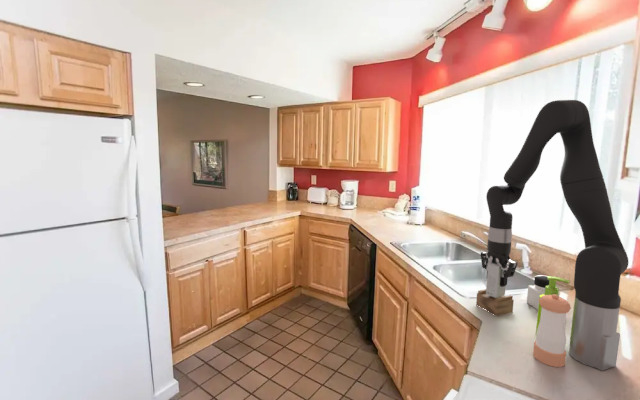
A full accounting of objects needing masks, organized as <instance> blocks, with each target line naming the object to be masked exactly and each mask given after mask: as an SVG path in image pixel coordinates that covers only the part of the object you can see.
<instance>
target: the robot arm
mask: <svg viewBox="0 0 640 400" xmlns="http://www.w3.org/2000/svg"><path fill="white" fill-rule="evenodd" d="M590 116H591V115H590V113H589V109H588V107H587V105H586V104H585V103H584V102H583V101H580V100H577V99H558V100H552V101H550V102H548V103H546V104H544V106H543V107H541V108H540V110H539V111H538V113H537V116H536V117H535V119H534V122H533V123H532V126H531V128H530V130H529V132H528V134H527V137H526V139H525V141H524V143H523V145H522V147H521V149H520V151H519V152H518V154H517V156H516V157H515V159H514V160H513V161H512V163H511V164H510V166H509V167H508V169H507V171H505V173H504V176H503V180H504V182H505V183H506V185H493V186H490V188H488V190H487V192H486V203H487V207H488V211H489V216H490V217H489V229H488V233H487V246H486V249H487V252H486V251H485V252H480V260H481V266H482V267H481V268H482V269H485V270H486V274H487V273H488V264H489V263H494V264H497V265H498V266H500V274H501V277H500V286H501V287H504V286H505V287H506V286H507V285H508V278H511V277H514V275H515V272H516V269H517V266H518V264H519V263H518V262H517V261H513V260H511V258H510V254H511V251H512V241H513V240H512V238H513V231H512V229H513V227H512V226H513V214H512V213H511V212H510V211H505V209H504V206H508V205H513V204H515V203H517V202H518V201H519V200H520V199H521V197H522V194H523V192H524V190H525V186H526V184H527V183H528V181H529V180H530V179H531V178H532V176H533V175H534V174H535V172H536V171H537V169H538V167H539V165H540V162H541V156H542V155H543V154H542V153H543V151H544V149H545V147H546V145H547V144H548V143H549V142H550V141H551V140H552V138H553V137H555V136H556V135H557V134H559V135H560V137H561V139H562V140H561V141H562V143H563V148H564V157H563V162H562V166H561V169H560V175H559V177H560V178H559V181H560V185H561V190H562V193H563V197H564V200H565V202H566V204H567V206H568V208H569V209H570V211H571V213H572V215H573V216H574V218H575V220H577V222H578V223H579V224H578V225H579V226H580V229H581V233H582V236H583V241H584V248H583V249H582V250H580V252H578V253H577V256H576V259H575V265H574V276H573V289H574V290H575V293H574V295H575V296H574V303H573V312H572V318H571V319H572V320H571V328H570V338H569V344H568V353H569V355H570V356H571V357H572V358H573V359H574V360H576V361H577V362H580V363H581V364H583V365H586V366H588V367H592V368H595V369H598V370H599V371H602V372H604V371H606V370H609V369H611V368H613V367H616V366H617V360H618V355H619V354H618V352H619V345H620V339H621V334H620V333H619V332H618V331H617V328H618V322H619V314H620V308H621V300H622V298H621V296H620V294H619V293H620V292H619V291H620V283H621V282H620V281H621V275H622V274H623V273H624V272H626V270H627V268H628V266H629V257H628V254H627V252H626V249H625V247H624V245H623V243H622V241H621V238H620V236H619V234H618V231H617V229H616V225H615V221H614V217H613V212H612V207H611V203H610V199H609V194H608V191H607V186H606V183H605V179H604V176H603V173H602V170H601V167H600V164H599V163H600V162H599V159H598V155H597V150H596V148H595V144H594V138H593V132H592V124H591V117H590ZM502 267H504V268H502Z"/></svg>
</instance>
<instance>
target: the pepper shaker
mask: <svg viewBox="0 0 640 400" xmlns="http://www.w3.org/2000/svg"><path fill="white" fill-rule="evenodd" d="M539 303H540V306H541V307H542V309H541V318H540V323H539V326H538V329H537V333H536V332H535V335H536V337H535V341H534V342H533V350H532V351H533V352H532V354H533V356H534V358H535V359H536V360H537V361H539V362H540V363H542V364H544V365H547V366H550V367H553V368H561V367H564V366H565V364H566V358H567V351H566V344H567V335H566V333H567V332H566V320H567V318H566V317H567V314H568V313H569V312H570V310H571V309H572V307H571V304H570V303H569V301H568V300H567V299H565V298H562V297H561V296H560V295H559V296H558V295H556V294H553V295H544V296H542V297H541V298H540V299H539Z"/></svg>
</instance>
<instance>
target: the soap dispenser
mask: <svg viewBox="0 0 640 400" xmlns="http://www.w3.org/2000/svg"><path fill="white" fill-rule="evenodd" d="M547 276H548V278H547V279H548V280H549V285H548V286H545V294H542V295H540V296H539V299H540V298H541V297H542V296H544V295H553V294H556V295H558V293H559V292H560V289H559V287H557V282H561V283H565V284H570V280H568V279H566V278H562V277H558V276H551V275H547ZM559 294H560V293H559ZM541 309H542V307H541V306H540V303H539V306H538V310H537V316H536V318H537V319H536V327H535V328H536V329H535V334H536V333H537V329H538V326H539V323H540V318H541Z"/></svg>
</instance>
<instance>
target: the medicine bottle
mask: <svg viewBox="0 0 640 400" xmlns="http://www.w3.org/2000/svg"><path fill="white" fill-rule="evenodd" d="M548 276H549V275H543V274H540V275H539V274H538V275H535V276H534V283H533V284H534V285H527V293H526V294H527V297H526V303H527V304H529V305H530V306H532V307H533V308H534V309H536V310H537V311H538V306H539V296H540V295H542V294H545V286H548V285H549V280H548V279H547V278H548ZM558 296H559V297H560V293H558Z"/></svg>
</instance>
